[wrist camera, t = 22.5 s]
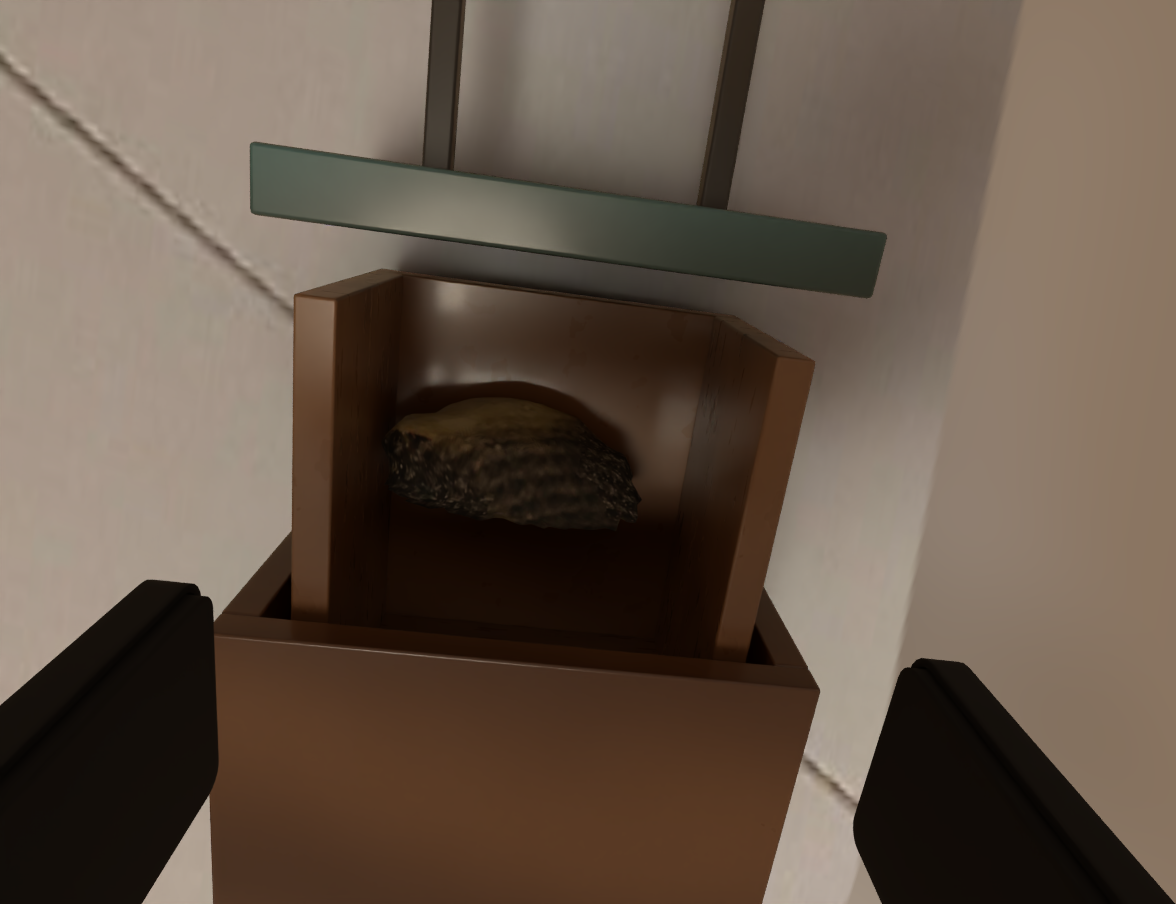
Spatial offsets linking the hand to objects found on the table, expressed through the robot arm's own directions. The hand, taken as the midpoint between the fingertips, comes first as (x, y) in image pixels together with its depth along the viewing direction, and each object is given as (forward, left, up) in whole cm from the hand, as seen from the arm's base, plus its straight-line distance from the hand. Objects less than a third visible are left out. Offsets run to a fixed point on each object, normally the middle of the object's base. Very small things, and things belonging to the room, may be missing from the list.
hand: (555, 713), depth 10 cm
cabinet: (0, +10, -14) cm, 17 cm away
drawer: (0, -4, -13) cm, 13 cm away
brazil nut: (+1, +1, -10) cm, 10 cm away
